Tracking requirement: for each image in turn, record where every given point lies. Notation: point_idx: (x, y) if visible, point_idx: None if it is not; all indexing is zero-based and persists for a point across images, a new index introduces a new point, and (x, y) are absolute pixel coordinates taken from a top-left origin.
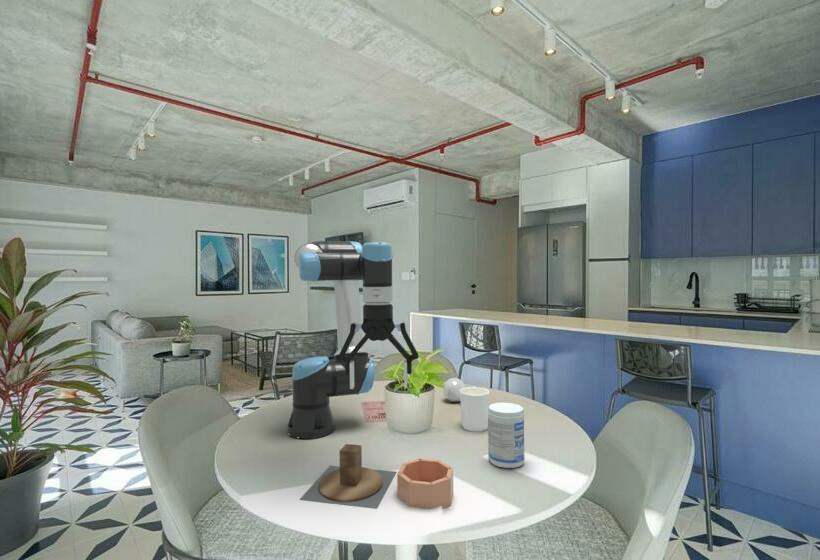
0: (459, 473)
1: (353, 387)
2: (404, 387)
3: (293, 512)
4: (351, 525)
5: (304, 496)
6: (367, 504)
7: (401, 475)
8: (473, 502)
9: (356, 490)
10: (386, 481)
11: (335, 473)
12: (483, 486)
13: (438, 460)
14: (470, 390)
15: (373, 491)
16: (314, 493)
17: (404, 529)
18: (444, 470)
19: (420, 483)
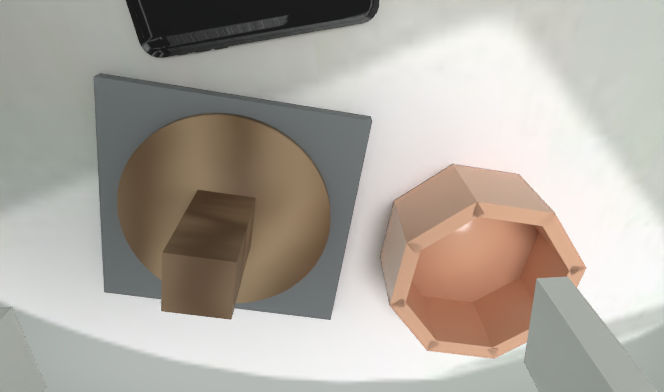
0: (606, 90)
1: (33, 364)
2: (528, 367)
3: (114, 315)
4: (277, 352)
5: (110, 277)
6: (302, 305)
7: (403, 316)
8: (592, 259)
9: (257, 267)
10: (340, 190)
11: (150, 169)
12: (656, 177)
13: (547, 215)
14: None
15: (310, 269)
16: (132, 263)
17: (400, 359)
18: (552, 245)
19: (461, 354)
